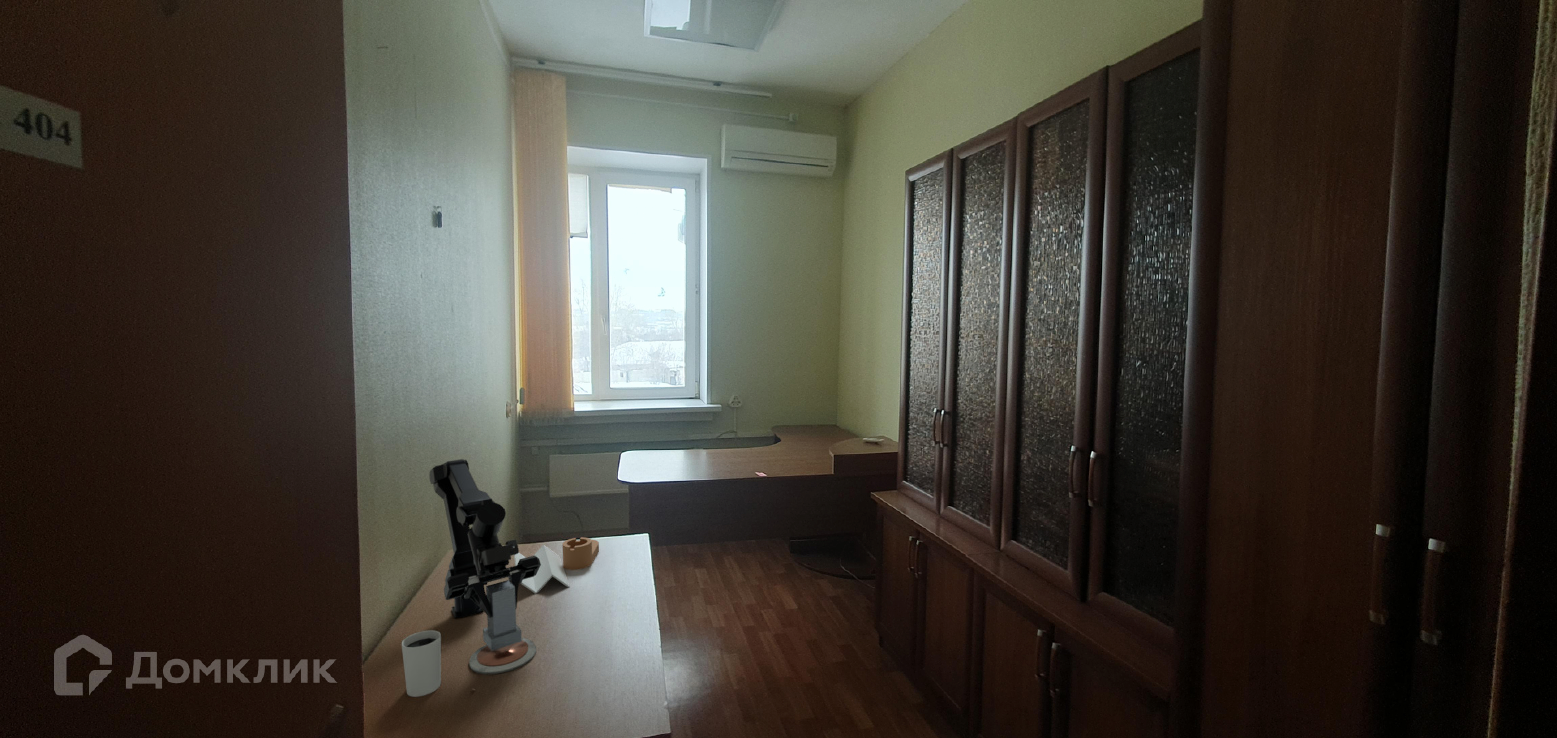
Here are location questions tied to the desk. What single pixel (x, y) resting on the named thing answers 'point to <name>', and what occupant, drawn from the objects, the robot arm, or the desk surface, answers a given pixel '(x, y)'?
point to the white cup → (422, 662)
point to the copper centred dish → (502, 657)
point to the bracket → (579, 553)
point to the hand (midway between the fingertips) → (503, 613)
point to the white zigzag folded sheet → (544, 569)
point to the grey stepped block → (501, 616)
